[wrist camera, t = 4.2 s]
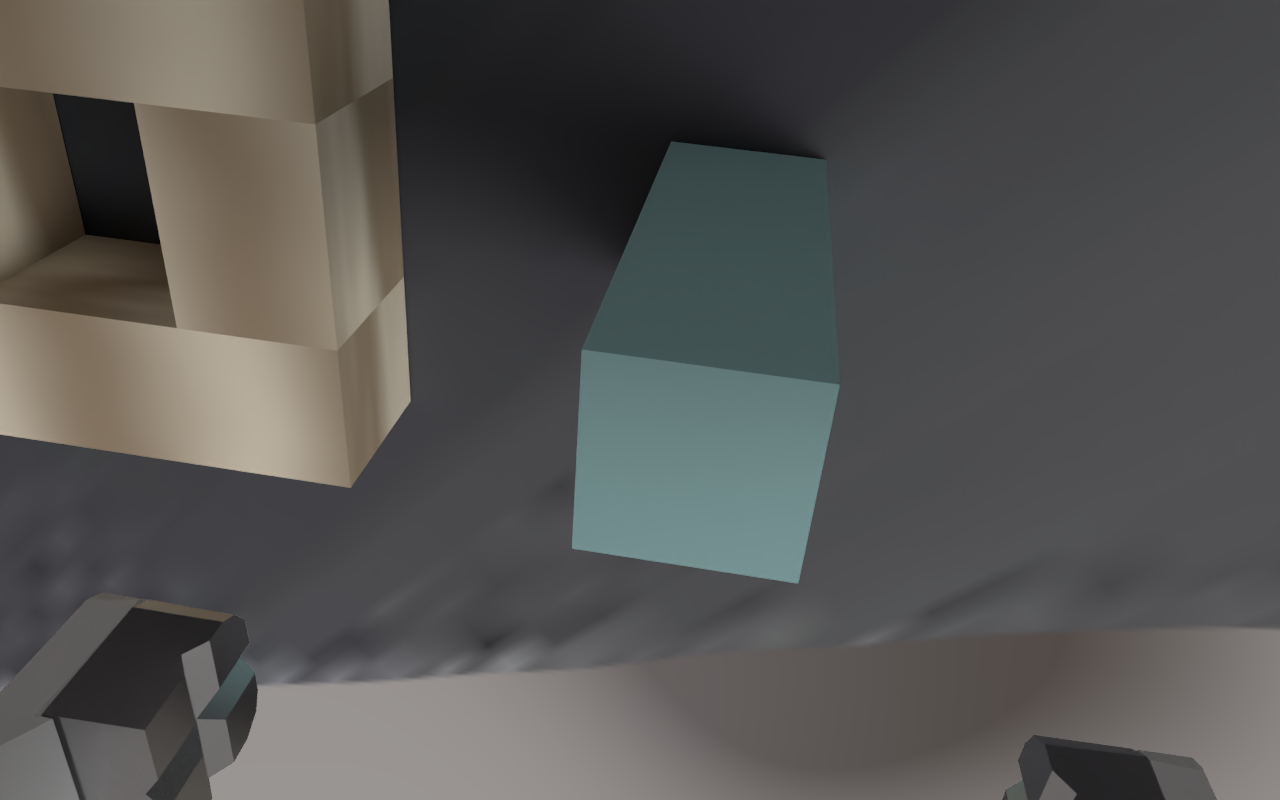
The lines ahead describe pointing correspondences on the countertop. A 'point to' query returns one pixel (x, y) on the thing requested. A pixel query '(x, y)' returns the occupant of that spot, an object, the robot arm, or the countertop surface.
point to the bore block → (208, 235)
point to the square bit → (713, 369)
